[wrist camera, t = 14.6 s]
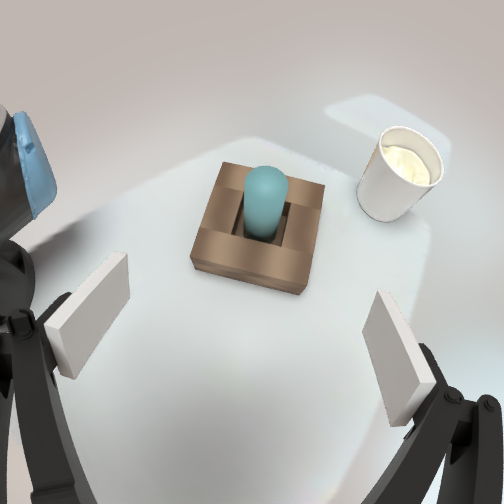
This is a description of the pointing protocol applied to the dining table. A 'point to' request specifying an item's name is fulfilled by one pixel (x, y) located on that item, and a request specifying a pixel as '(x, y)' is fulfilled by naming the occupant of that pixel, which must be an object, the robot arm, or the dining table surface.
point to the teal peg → (263, 203)
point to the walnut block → (255, 252)
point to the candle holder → (398, 173)
